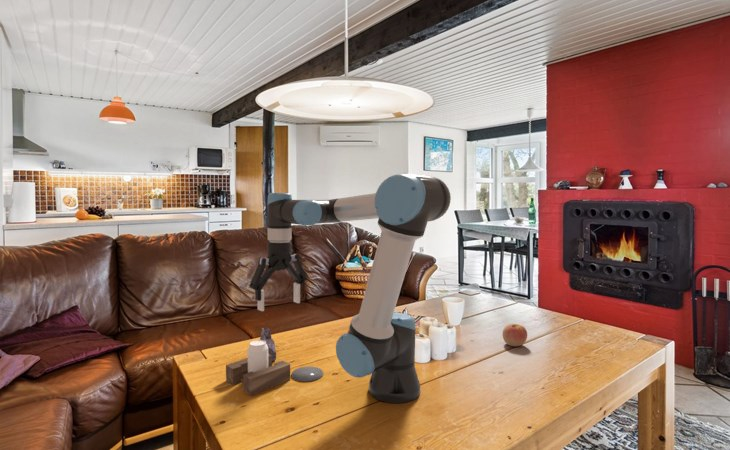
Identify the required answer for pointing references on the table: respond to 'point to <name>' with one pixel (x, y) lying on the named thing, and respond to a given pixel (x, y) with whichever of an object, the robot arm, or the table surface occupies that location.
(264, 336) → the stone
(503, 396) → the table surface
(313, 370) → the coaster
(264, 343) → the beverage can
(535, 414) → the table surface
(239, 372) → the notched wooden bars
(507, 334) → the apple
